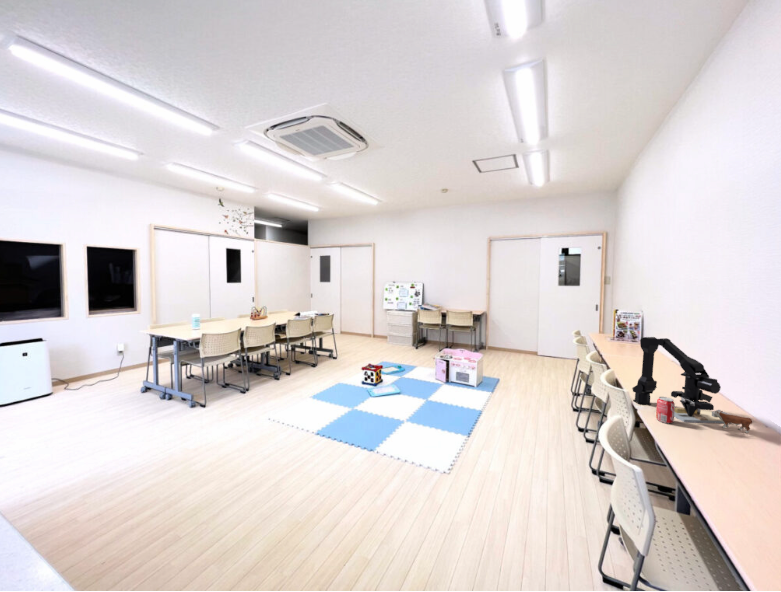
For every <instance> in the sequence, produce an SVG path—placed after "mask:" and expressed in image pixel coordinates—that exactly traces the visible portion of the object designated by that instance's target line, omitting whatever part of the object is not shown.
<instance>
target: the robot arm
mask: <svg viewBox="0 0 781 592" xmlns="http://www.w3.org/2000/svg"><path fill="white" fill-rule="evenodd" d="M639 344H640V348H641V350H642V352H643V353H642V354H643V355H642V368H641V376H640V377H639V378H638V380H637V384H636V385H635V386H633V387H632V388H631V389H632V392H633V393H634V399H632V401H633V402H635V403H636V404H639V405H640V406H641V405H647V406H648V405H649V406H651V405H652V403H651V394H653V393H654V392H655V391H656V390H657V388H658V387H657V384H658V381H657V380H655V379H654V378H653V373H654V363H655V362H654V361H655V353H656V351H657V350H658V348H659V346H661V347H662V348H663V349H664V350H665V351H667V353H669V354H670V356H672V357H673V358H675V360H676V361H678V363H679V366H680V367H681V368H682V370H683V372H682V373H680V376H682V377H684V386H682V388H681V389H682V390H684V391H682V390H681V391H680V390H673V391H671V392H670V397H671V398H672V397H673V398H677V397H679V398H681V399H680V400H679V402H680V403H681V405H682V406H683V408H685V410H686V412H687V414H688V416H690V417H692V416H693V414H694V412H695V411H696V409H697V408H699V409H701V410H710V411H715V410H714V407H715V405H713V403H711V401H712V399H713V396H711V395H708V394H707V393H710V394H714V395H715V394H718V393H719V392H720V391H721V389H722V388H721V384H720V382H718V379H716V378H712V377H710V375H709V374H708V372H707V371H706V369H705V366H704V365H703V364H702V363H701V362H700V361H698V360H697V359H695V358H693V357H690V356H689V355H687V354H686V353H685V351H683V350H681V349H680V348H679V347H678V346H677V345H676V344H675V343H673V342H672V340H671V339H669V338H657V337H654V336H646V337H645V336H644V337H642V338H640V341H639ZM704 391H705V392H707V393H704Z"/></svg>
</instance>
